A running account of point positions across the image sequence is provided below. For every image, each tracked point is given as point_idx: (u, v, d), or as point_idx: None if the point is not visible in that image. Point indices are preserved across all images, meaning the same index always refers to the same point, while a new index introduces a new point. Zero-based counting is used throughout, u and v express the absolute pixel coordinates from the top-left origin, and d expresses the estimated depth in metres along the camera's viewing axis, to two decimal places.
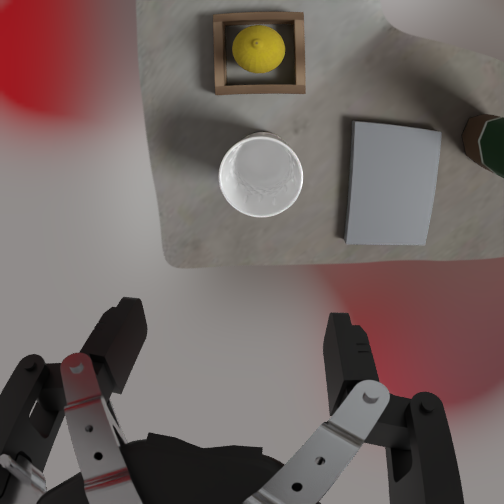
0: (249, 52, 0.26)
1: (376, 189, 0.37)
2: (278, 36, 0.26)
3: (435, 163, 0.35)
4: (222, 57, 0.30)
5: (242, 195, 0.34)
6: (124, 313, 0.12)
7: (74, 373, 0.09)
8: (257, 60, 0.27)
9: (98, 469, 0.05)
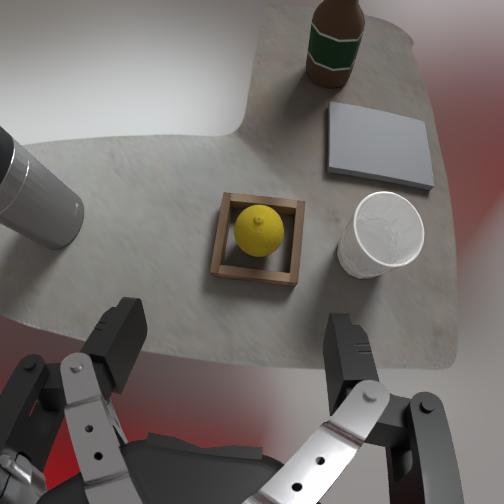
0: (266, 229, 0.32)
1: (385, 156, 0.41)
2: (251, 206, 0.34)
3: (356, 108, 0.43)
4: (259, 270, 0.36)
5: (401, 259, 0.32)
6: (124, 313, 0.12)
7: (74, 373, 0.09)
8: (275, 224, 0.33)
9: (98, 469, 0.05)
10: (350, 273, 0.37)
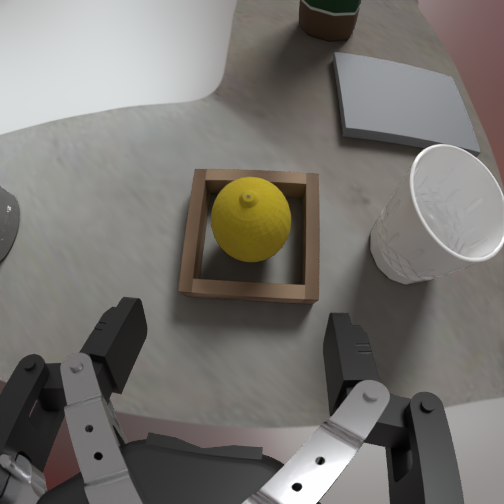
0: (263, 213, 0.19)
1: (417, 114, 0.28)
2: (235, 180, 0.21)
3: (369, 59, 0.30)
4: (256, 283, 0.23)
5: (473, 249, 0.18)
6: (124, 313, 0.12)
7: (74, 373, 0.09)
8: (276, 205, 0.19)
9: (98, 469, 0.05)
10: (393, 277, 0.24)
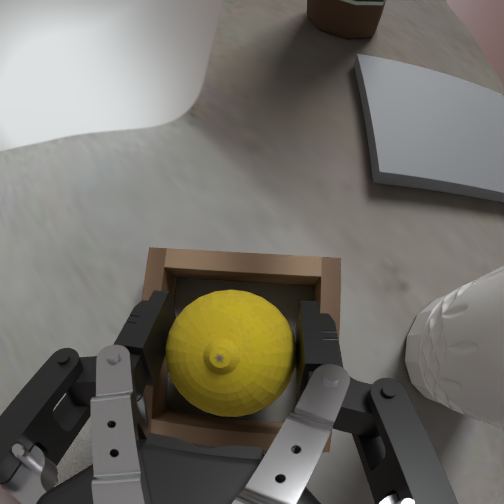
0: (247, 381, 0.10)
1: (470, 149, 0.19)
2: (202, 298, 0.12)
3: (404, 65, 0.21)
4: (240, 432, 0.14)
5: None
6: (157, 306, 0.12)
7: (112, 365, 0.09)
8: (272, 361, 0.10)
9: (111, 466, 0.06)
10: (431, 399, 0.15)
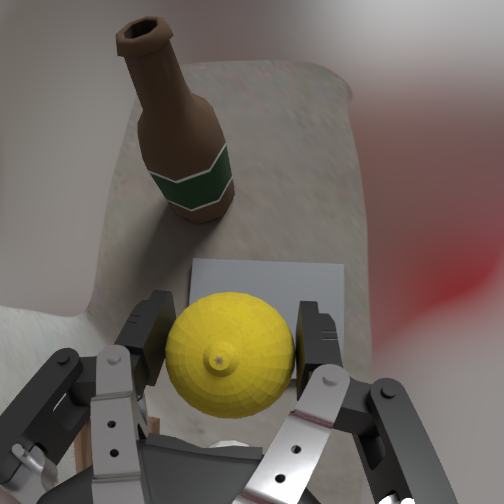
0: (246, 383, 0.10)
1: None
2: (202, 301, 0.12)
3: (232, 263, 0.33)
4: None
5: None
6: (157, 305, 0.12)
7: (112, 365, 0.09)
8: (272, 364, 0.10)
9: (111, 466, 0.06)
10: None
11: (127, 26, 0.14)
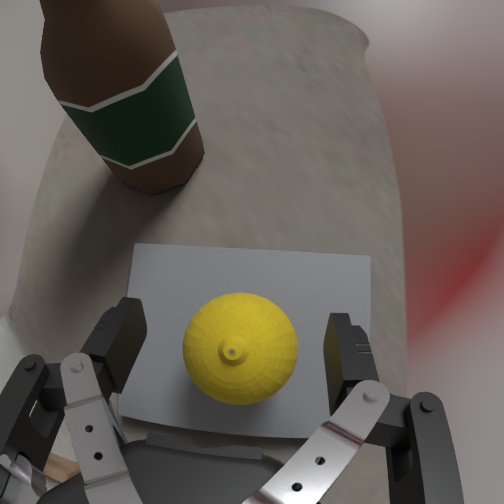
0: (255, 371, 0.12)
1: None
2: (215, 301, 0.14)
3: (192, 252, 0.21)
4: None
5: None
6: (124, 313, 0.12)
7: (74, 373, 0.09)
8: (277, 354, 0.12)
9: (99, 469, 0.05)
10: None
11: None
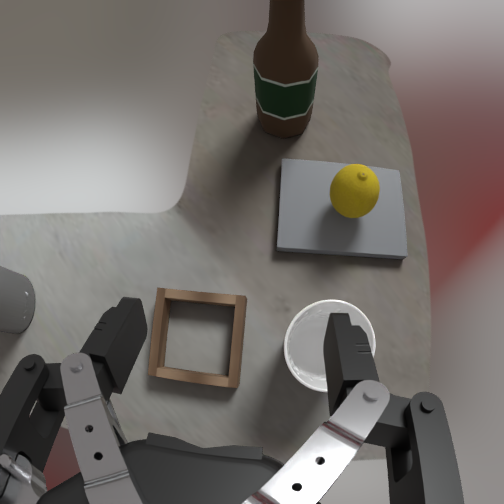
0: (370, 184, 0.30)
1: (347, 225, 0.37)
2: None
3: (314, 163, 0.39)
4: (196, 374, 0.32)
5: None
6: (124, 313, 0.12)
7: (74, 373, 0.09)
8: (376, 180, 0.31)
9: (98, 469, 0.05)
10: None
11: None
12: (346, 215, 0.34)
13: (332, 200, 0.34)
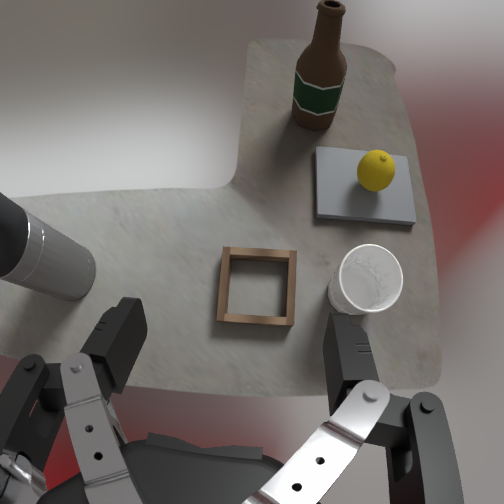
0: (389, 164, 0.39)
1: (370, 197, 0.46)
2: (371, 151, 0.41)
3: (341, 150, 0.48)
4: (259, 316, 0.41)
5: (384, 300, 0.37)
6: (124, 313, 0.12)
7: (74, 373, 0.09)
8: (392, 162, 0.40)
9: (98, 468, 0.05)
10: (340, 311, 0.42)
11: (323, 1, 0.30)
12: (370, 189, 0.43)
13: (360, 177, 0.43)
